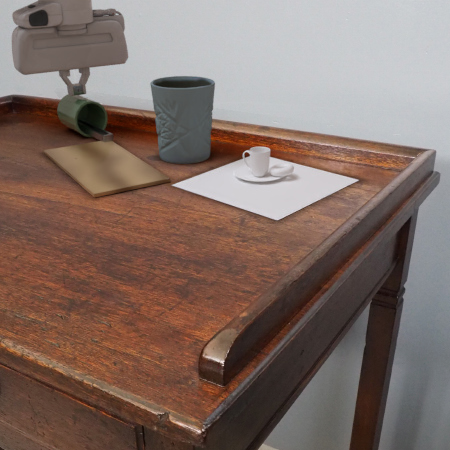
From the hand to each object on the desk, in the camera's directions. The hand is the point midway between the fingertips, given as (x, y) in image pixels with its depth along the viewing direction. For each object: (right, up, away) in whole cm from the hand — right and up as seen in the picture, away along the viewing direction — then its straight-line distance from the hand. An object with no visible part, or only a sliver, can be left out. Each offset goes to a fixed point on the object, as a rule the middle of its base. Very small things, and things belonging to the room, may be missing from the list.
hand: (77, 94), depth 113 cm
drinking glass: (+20, -13, -9) cm, 26 cm away
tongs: (+3, -6, +1) cm, 7 cm away
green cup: (-2, -2, +5) cm, 5 cm away
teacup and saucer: (+33, -20, -21) cm, 44 cm away
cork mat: (+7, -16, -14) cm, 22 cm away
